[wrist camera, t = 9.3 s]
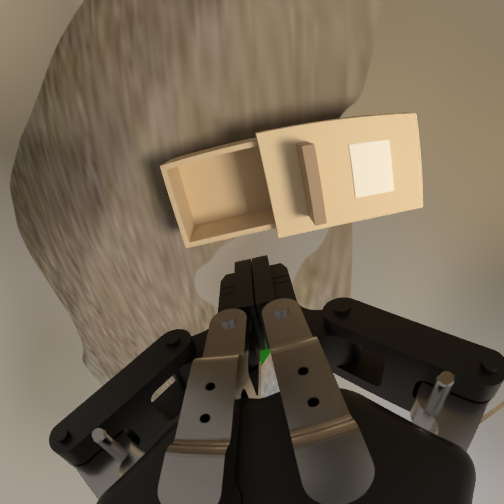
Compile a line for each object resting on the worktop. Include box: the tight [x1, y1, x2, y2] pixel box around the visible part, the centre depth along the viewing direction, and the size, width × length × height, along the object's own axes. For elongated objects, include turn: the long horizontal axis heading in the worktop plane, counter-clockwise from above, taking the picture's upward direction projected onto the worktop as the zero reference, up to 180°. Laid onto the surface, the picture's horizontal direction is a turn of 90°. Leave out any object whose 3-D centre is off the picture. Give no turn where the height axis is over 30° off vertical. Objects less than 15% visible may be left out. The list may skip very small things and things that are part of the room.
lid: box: [255, 113, 423, 238], centre depth 29 cm, size 12×19×5 cm, turn 103°
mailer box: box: [160, 137, 276, 248], centre depth 33 cm, size 10×18×6 cm, turn 103°
